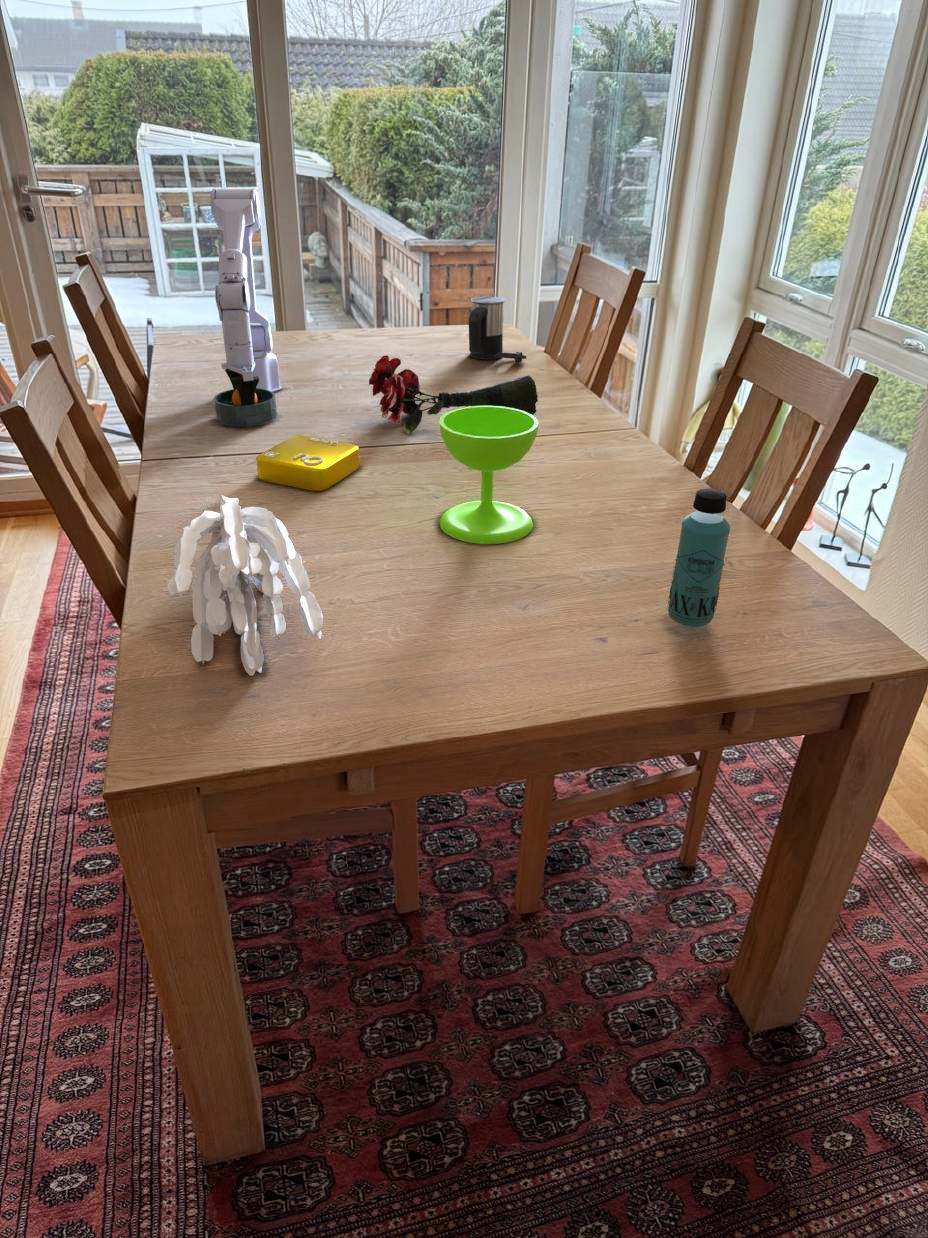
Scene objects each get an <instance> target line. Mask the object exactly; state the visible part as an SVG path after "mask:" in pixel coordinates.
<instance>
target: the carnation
mask: <svg viewBox="0 0 928 1238" xmlns="http://www.w3.org/2000/svg"><path fill="white" fill-rule="evenodd" d="M401 364H402V361H401V359H400V358H398V357H393V358H391V359H390V356H389V355H387V354H386V355H382V356H381V357H380V358H379V359H378V360H377V361H376V363H375V365H374V368H373V371H372V373H371V375H370V377H369V379H368V385H369V386H371V385H372V396H373V397H375V396H376V395H379V394H382V395H383V396H382V397H381V399H380V401H379V404H378V405H379V406H380V410H379V411H380V413H381V418H382V419H384V420H387V421H389V423H391V424H396V423H397V424H401V414H402V413H403V414H406V415H407V416H408V417H407V418H406V421H405V423H404V430H405V432H406V433H407V434H409V435H412V434H413V432H414V431H415V430H417V428H418V427H419V425H420V423H421V421H422V419H423V412H425V411H427V412H426V414H427V415H430V416H431V415H437V414H439V413H441V411H442V409H449V408H450V407H451V408H463V407H471V406H502V407H509V408H515V409H518V410H522V411H525V412H527V413H530V414H532V415H533V416H534V415H535V414H536V413H537V406H536V403H538V402H539V398H538V391H537V384H536V381H535V379H534V378H533V377H532V376H531V375H526V376H525V375H524V376H521V377H516V378H515V379H511V380H508V381H505V382H500V383H497V384H495V385H490V386H485V387H482V388H479V389H475V390H470V391H461V392H459V391H458V392H457V391H456V392H451V393H449V392H447V391H446V392H439V393H438V395H432V394H428V393H425V392H422V391H421V389H420V388H421V387H420V380H419V376H418V375H417V374H416V373H415V372H414V371H412V370H411V369H408V368H404V369H403V370H401V371H400V372H398V373H395V372H396V370H397V368H398V367H399V366H401ZM421 396H426V397H430V398H421ZM430 400H431V401H430ZM436 400H437V401H436ZM417 402H419V403H417ZM425 403H429V404H433V405H432V406H430V407H428V408H424V409H421V407H422V405H423V404H425ZM389 413H390V415H389ZM388 415H389V416H388Z"/></svg>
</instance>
